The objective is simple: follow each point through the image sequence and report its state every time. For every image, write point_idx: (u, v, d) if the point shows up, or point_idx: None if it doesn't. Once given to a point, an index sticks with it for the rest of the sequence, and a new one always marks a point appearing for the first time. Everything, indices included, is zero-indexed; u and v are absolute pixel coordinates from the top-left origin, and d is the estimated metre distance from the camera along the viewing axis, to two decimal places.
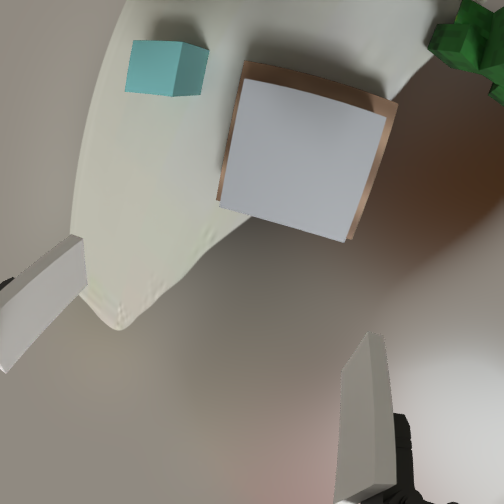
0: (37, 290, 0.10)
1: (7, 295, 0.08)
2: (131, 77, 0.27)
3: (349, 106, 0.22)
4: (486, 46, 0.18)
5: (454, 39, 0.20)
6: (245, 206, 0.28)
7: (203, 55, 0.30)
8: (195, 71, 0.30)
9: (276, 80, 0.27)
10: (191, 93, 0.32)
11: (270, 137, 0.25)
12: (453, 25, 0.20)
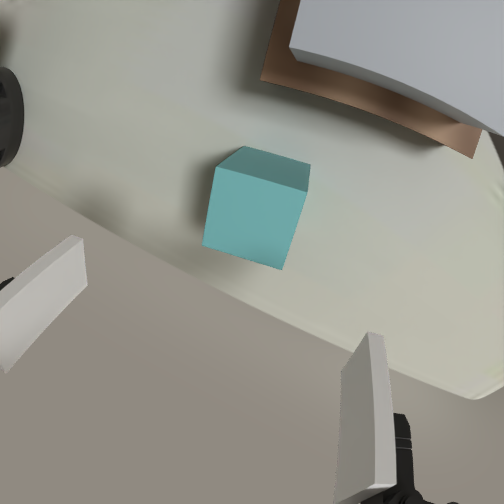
0: (37, 290, 0.10)
1: (7, 295, 0.08)
2: (261, 255, 0.22)
3: None
4: None
5: None
6: None
7: (249, 151, 0.25)
8: (271, 162, 0.23)
9: None
10: (306, 172, 0.23)
11: (397, 19, 0.10)
12: None
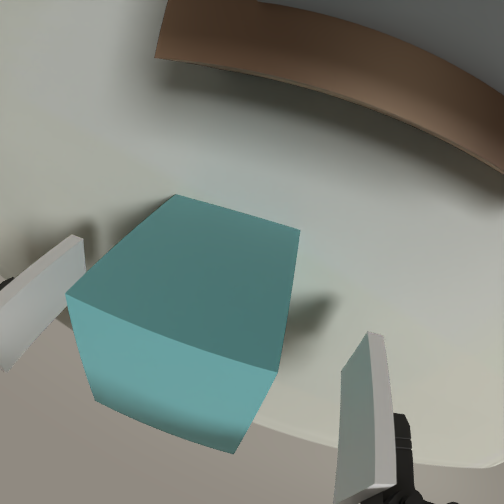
0: (36, 290, 0.10)
1: (7, 295, 0.08)
2: (193, 436, 0.10)
3: None
4: None
5: None
6: None
7: (178, 212, 0.13)
8: (215, 243, 0.11)
9: None
10: (289, 262, 0.11)
11: None
12: None
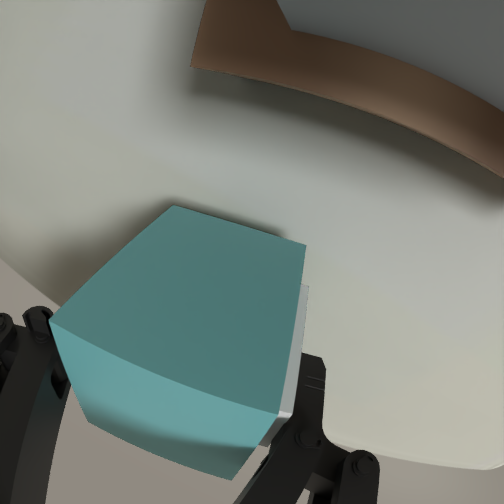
0: None
1: None
2: (189, 462, 0.09)
3: None
4: None
5: None
6: None
7: (174, 225, 0.12)
8: (213, 262, 0.10)
9: None
10: (293, 284, 0.10)
11: None
12: None
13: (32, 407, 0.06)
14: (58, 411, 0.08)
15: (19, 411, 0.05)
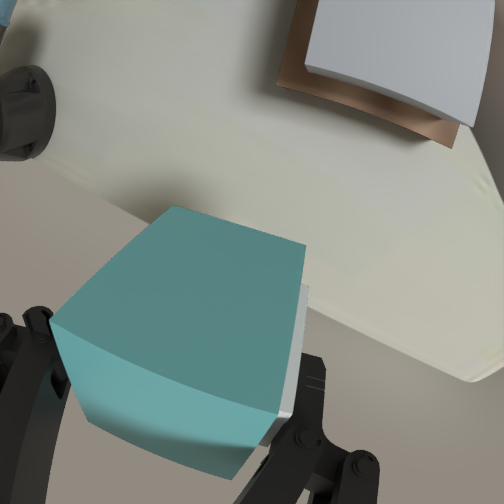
0: None
1: None
2: (189, 462, 0.09)
3: None
4: None
5: None
6: (472, 91, 0.14)
7: (174, 225, 0.12)
8: (213, 262, 0.10)
9: (304, 49, 0.21)
10: (293, 284, 0.10)
11: (385, 40, 0.14)
12: None
13: (32, 407, 0.06)
14: (58, 412, 0.08)
15: (19, 411, 0.05)
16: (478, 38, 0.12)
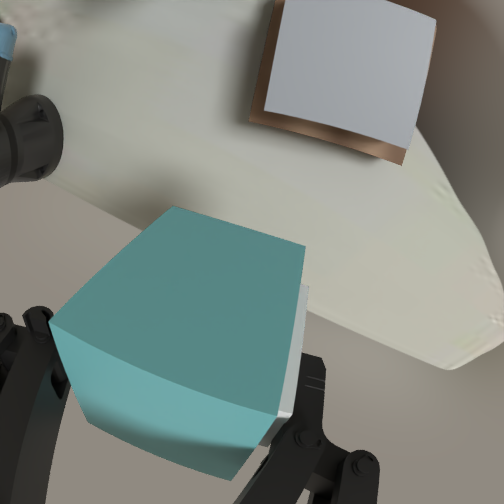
0: None
1: None
2: (188, 463, 0.09)
3: (285, 10, 0.18)
4: None
5: None
6: (407, 119, 0.20)
7: (174, 226, 0.12)
8: (212, 263, 0.10)
9: None
10: (292, 285, 0.10)
11: (329, 85, 0.21)
12: None
13: (32, 407, 0.06)
14: (58, 411, 0.08)
15: (19, 411, 0.05)
16: (415, 70, 0.18)
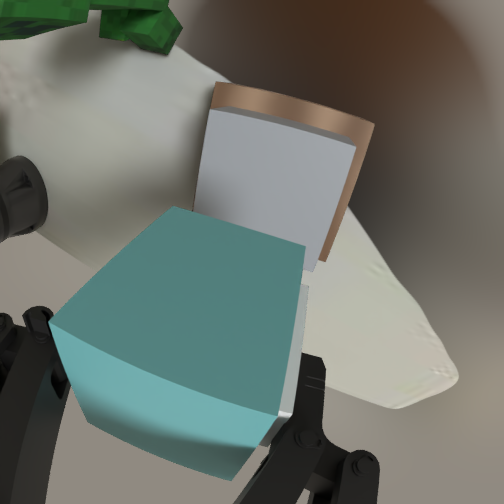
0: None
1: None
2: (189, 463, 0.09)
3: (204, 146, 0.25)
4: (135, 9, 0.23)
5: (141, 38, 0.25)
6: (313, 248, 0.27)
7: (174, 226, 0.12)
8: (212, 263, 0.10)
9: None
10: (293, 285, 0.10)
11: (242, 218, 0.27)
12: (131, 39, 0.27)
13: (32, 407, 0.06)
14: (58, 411, 0.08)
15: (19, 411, 0.05)
16: (324, 204, 0.25)
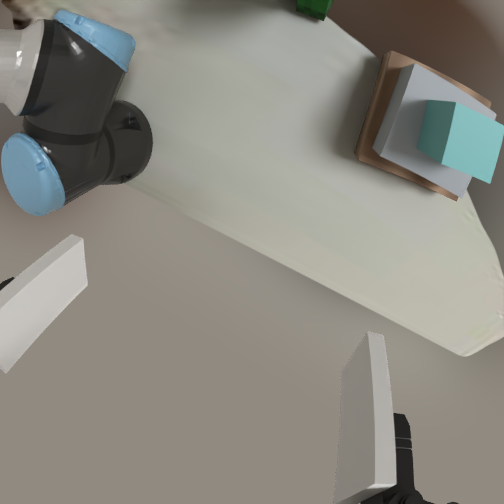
0: (36, 290, 0.10)
1: (7, 295, 0.08)
2: (479, 172, 0.22)
3: (408, 87, 0.27)
4: None
5: (314, 0, 0.28)
6: (465, 179, 0.29)
7: None
8: None
9: None
10: None
11: None
12: None
13: None
14: None
15: None
16: None
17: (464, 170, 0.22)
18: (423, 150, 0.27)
